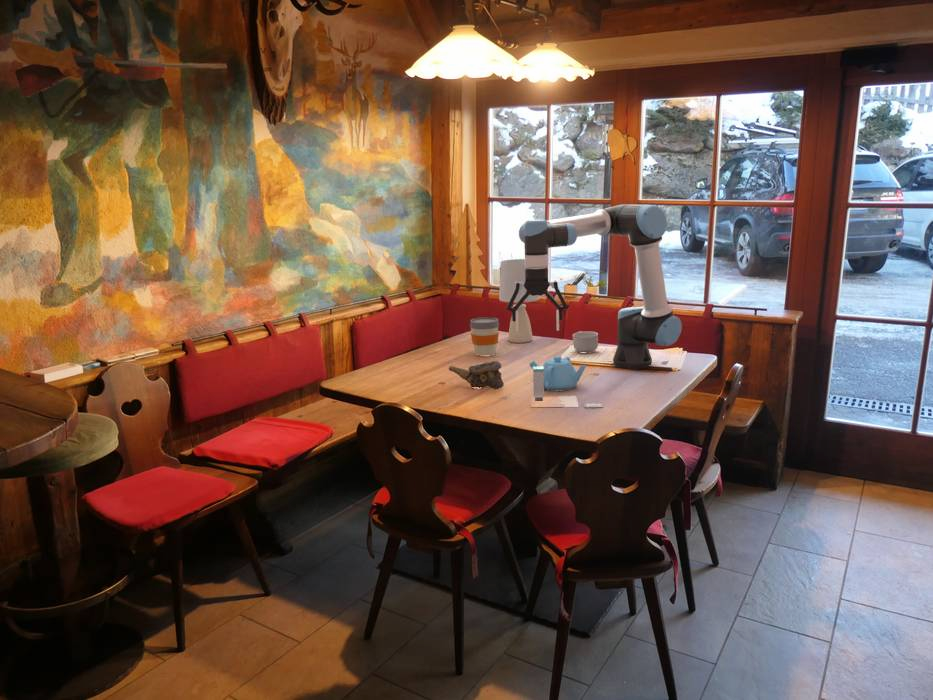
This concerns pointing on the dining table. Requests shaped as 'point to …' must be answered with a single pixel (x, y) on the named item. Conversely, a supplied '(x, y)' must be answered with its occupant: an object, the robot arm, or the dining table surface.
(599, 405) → the word card
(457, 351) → the dining table surface
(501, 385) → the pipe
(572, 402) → the paper
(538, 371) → the grey rectangular block
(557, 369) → the teapot
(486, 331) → the reusable coffee cup
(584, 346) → the teacup
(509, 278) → the lamp
